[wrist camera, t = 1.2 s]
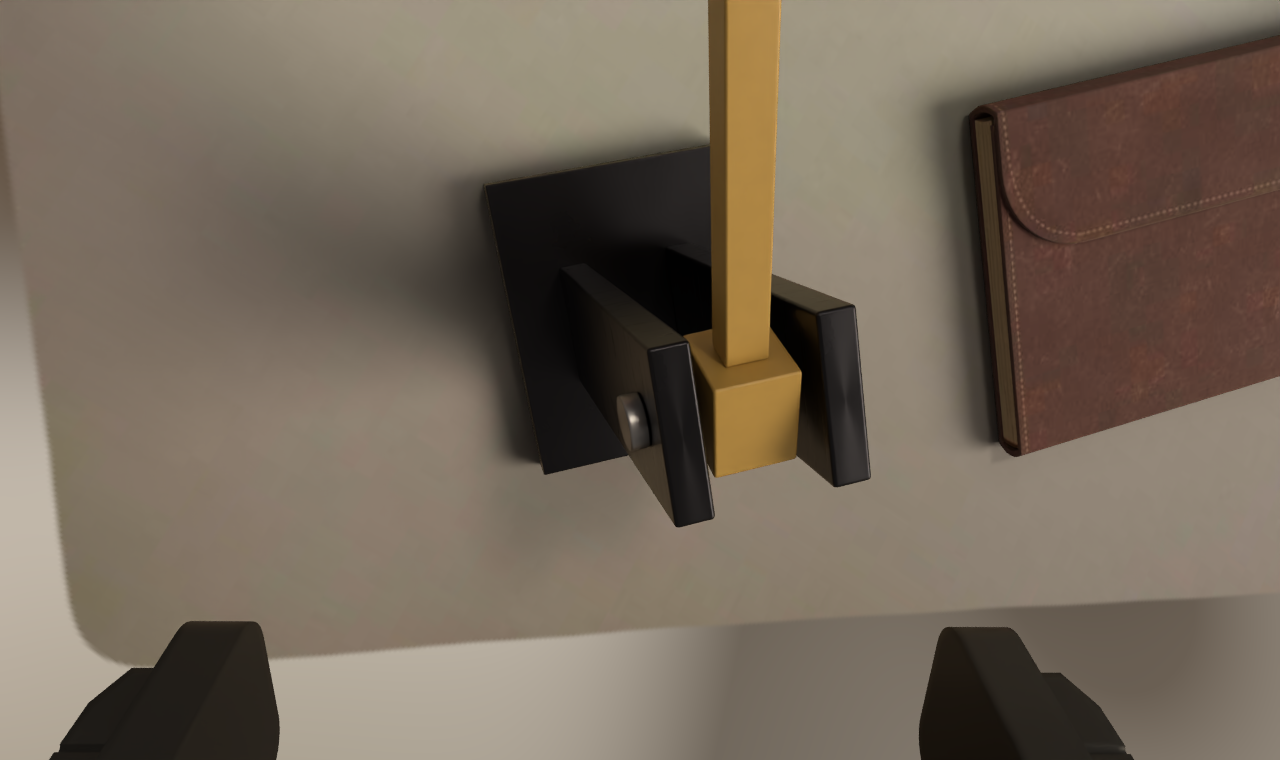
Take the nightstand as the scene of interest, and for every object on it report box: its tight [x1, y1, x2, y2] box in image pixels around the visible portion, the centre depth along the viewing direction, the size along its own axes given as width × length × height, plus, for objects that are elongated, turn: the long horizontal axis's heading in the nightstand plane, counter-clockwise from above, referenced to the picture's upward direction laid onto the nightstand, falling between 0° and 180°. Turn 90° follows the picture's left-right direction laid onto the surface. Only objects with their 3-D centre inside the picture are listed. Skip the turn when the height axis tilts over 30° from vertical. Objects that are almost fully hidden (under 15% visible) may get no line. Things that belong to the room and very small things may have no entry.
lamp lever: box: [683, 0, 802, 478], centre depth 19 cm, size 15×4×4 cm, turn 9°
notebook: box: [969, 35, 1280, 457], centre depth 39 cm, size 15×20×2 cm
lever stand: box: [483, 144, 871, 527], centre depth 28 cm, size 11×9×15 cm
